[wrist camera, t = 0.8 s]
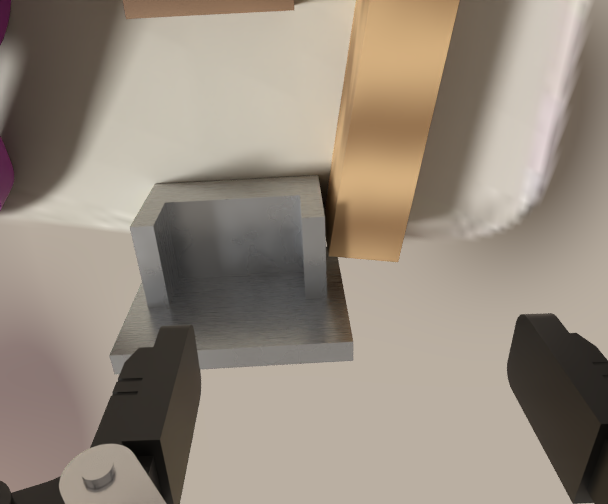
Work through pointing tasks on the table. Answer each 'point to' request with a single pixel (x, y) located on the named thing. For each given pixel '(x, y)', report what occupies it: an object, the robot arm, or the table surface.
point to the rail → (384, 123)
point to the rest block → (200, 7)
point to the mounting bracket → (3, 173)
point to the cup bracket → (238, 274)
